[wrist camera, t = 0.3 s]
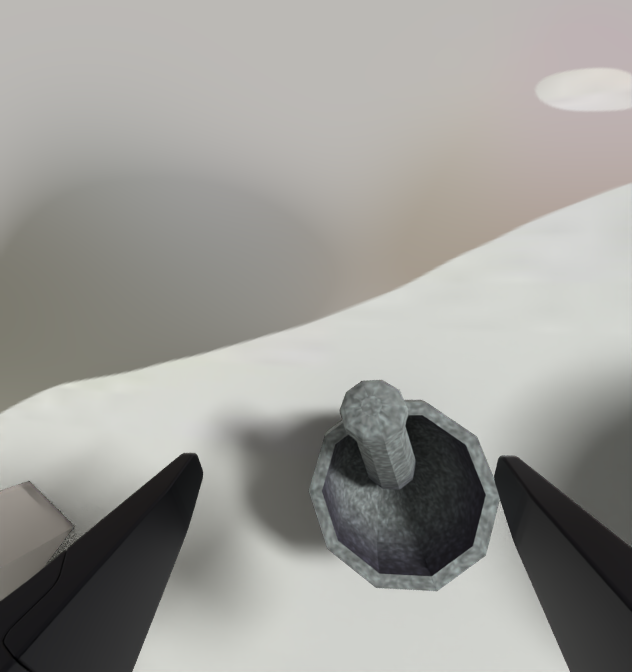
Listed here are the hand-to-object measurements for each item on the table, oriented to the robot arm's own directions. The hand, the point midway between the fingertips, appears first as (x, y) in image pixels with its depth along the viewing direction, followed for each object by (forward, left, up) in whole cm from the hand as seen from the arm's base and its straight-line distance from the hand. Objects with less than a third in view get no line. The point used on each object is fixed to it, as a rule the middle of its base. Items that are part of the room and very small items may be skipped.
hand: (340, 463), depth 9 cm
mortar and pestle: (-4, -1, -15) cm, 16 cm away
